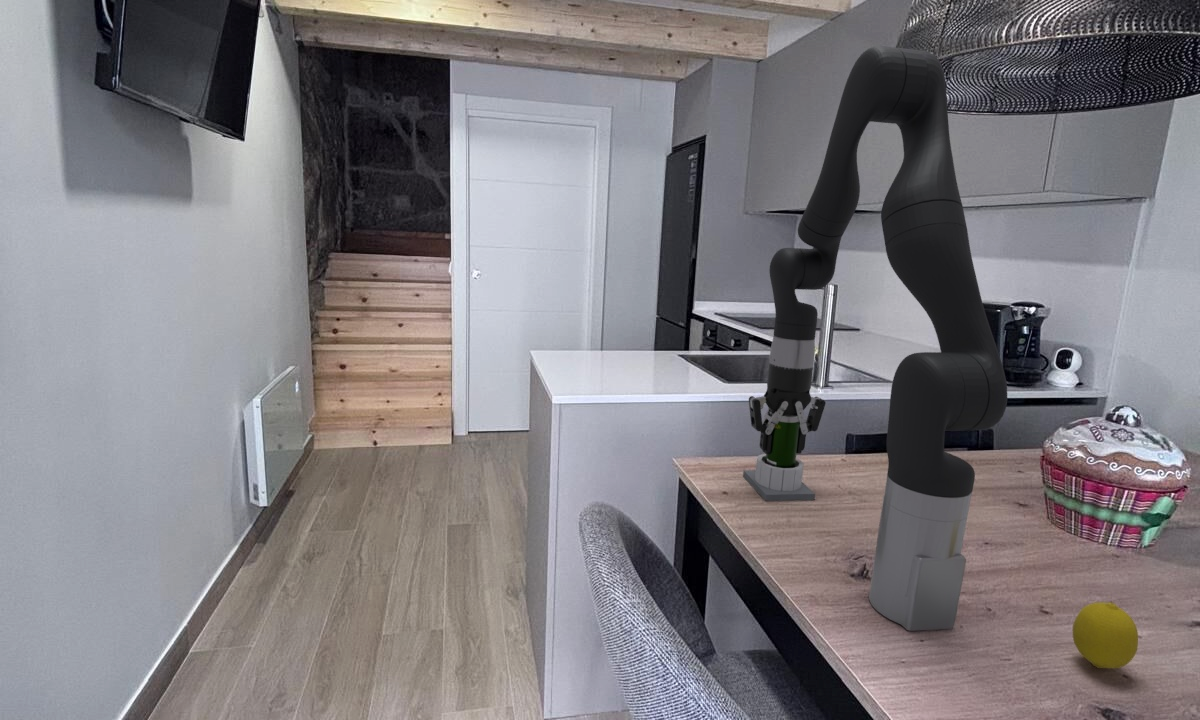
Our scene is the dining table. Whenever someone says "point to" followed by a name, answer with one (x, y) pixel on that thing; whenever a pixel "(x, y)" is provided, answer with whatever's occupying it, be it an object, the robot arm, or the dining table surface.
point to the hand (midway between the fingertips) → (781, 451)
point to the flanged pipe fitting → (778, 481)
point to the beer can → (784, 442)
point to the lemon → (1105, 635)
